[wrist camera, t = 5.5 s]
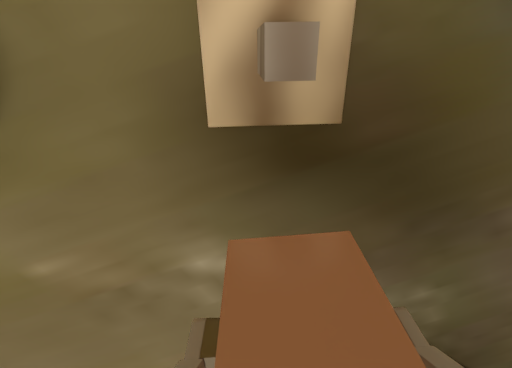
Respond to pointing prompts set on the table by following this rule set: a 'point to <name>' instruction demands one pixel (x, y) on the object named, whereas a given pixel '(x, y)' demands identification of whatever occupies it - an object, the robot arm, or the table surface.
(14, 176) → the table surface
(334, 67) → the post stand
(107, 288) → the table surface
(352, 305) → the salmon orange block
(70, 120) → the table surface
